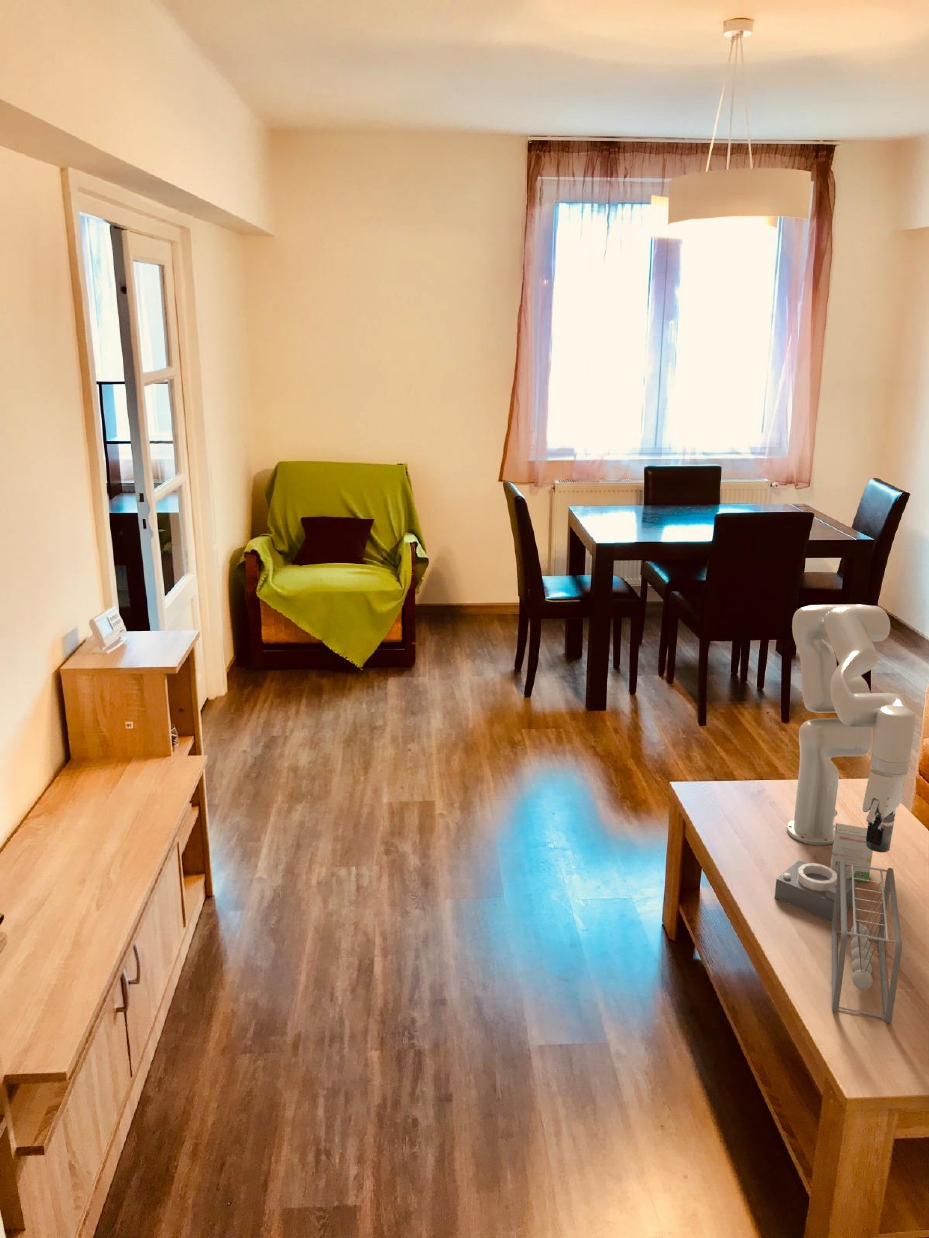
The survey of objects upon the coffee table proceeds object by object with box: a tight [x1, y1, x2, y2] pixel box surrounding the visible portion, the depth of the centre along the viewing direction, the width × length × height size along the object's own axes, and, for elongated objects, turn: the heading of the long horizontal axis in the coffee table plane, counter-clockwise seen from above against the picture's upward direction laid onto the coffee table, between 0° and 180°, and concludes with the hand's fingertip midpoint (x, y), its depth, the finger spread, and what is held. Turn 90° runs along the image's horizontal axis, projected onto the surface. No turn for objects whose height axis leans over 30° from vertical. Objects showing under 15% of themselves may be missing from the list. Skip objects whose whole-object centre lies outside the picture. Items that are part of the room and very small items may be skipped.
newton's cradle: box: [831, 860, 903, 1024], centre depth 194 cm, size 30×10×18 cm, turn 160°
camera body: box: [774, 860, 858, 923], centre depth 221 cm, size 11×14×7 cm
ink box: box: [829, 822, 874, 883], centre depth 230 cm, size 9×5×12 cm, turn 71°
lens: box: [866, 812, 896, 853], centre depth 211 cm, size 5×5×8 cm
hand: (879, 837), depth 212 cm, fingers closed on lens, 4 cm apart
